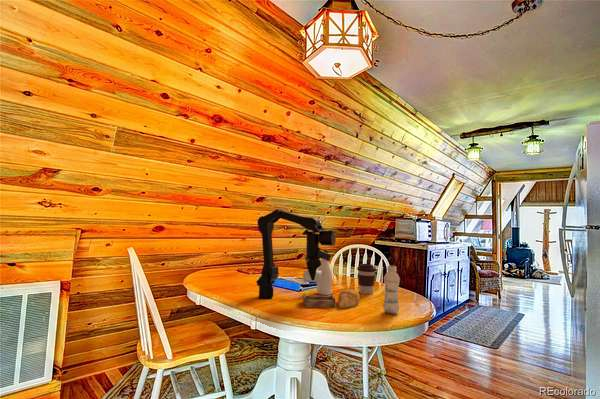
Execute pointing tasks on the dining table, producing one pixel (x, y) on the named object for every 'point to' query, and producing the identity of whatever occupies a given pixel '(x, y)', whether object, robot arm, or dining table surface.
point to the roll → (308, 279)
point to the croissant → (348, 298)
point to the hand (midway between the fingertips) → (312, 279)
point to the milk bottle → (325, 278)
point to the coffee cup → (366, 278)
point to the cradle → (318, 301)
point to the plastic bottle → (391, 291)
